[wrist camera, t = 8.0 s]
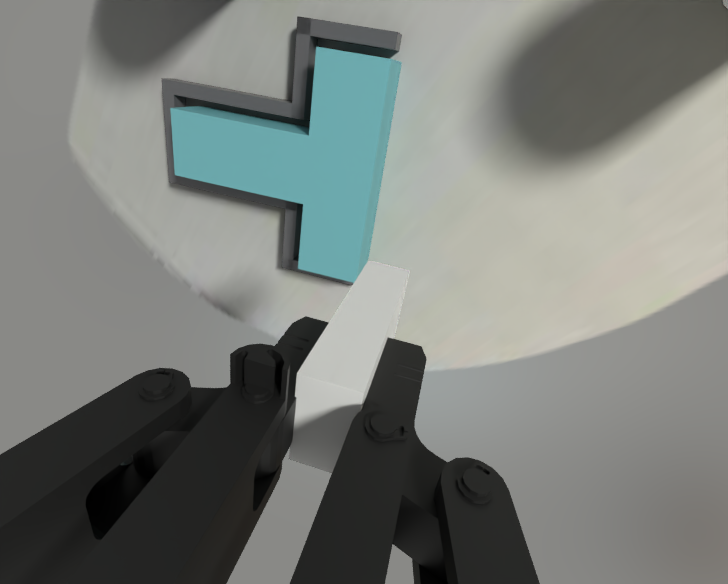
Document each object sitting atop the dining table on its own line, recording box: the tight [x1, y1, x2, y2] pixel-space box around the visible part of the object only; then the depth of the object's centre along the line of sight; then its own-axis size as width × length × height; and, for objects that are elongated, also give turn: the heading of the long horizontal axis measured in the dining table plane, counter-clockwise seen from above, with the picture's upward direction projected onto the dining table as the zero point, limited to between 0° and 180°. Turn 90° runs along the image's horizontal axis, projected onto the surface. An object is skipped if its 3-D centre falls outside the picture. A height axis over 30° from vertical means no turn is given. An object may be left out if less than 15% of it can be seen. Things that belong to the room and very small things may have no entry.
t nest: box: [162, 17, 402, 285], centre depth 34 cm, size 18×19×2 cm
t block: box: [170, 47, 402, 283], centre depth 33 cm, size 16×16×4 cm
